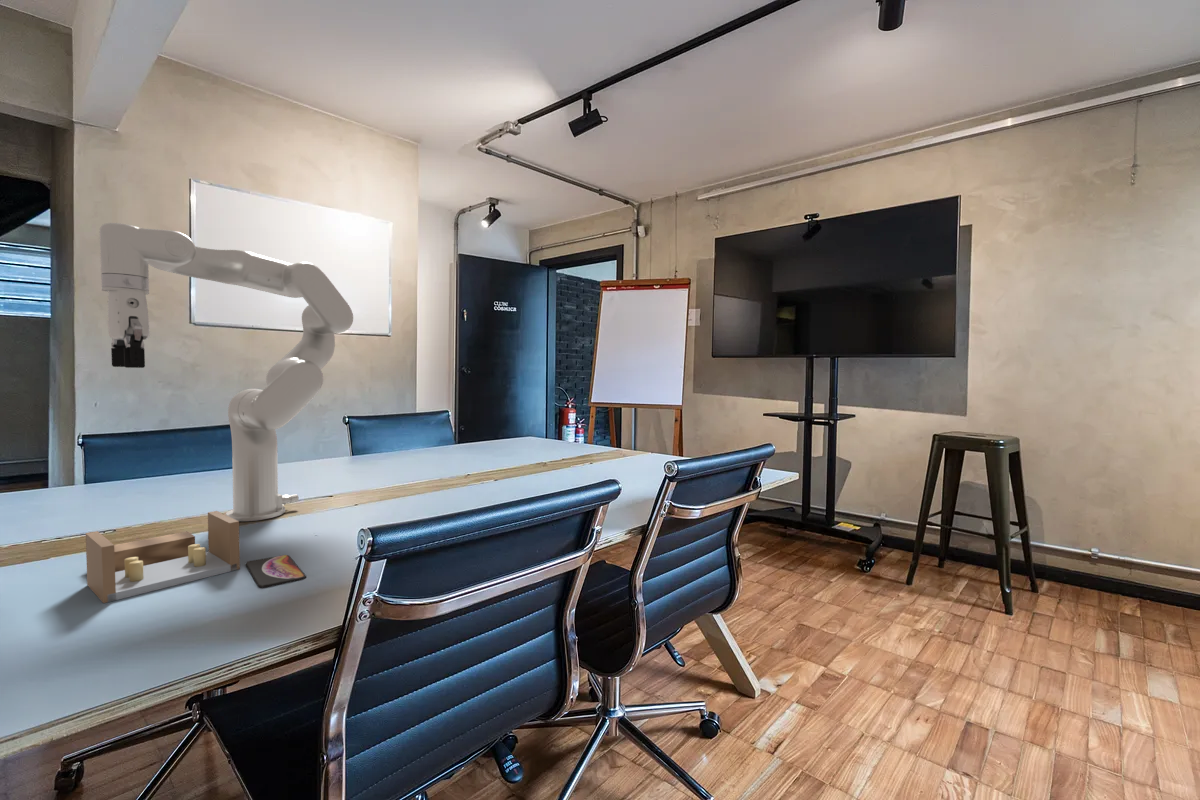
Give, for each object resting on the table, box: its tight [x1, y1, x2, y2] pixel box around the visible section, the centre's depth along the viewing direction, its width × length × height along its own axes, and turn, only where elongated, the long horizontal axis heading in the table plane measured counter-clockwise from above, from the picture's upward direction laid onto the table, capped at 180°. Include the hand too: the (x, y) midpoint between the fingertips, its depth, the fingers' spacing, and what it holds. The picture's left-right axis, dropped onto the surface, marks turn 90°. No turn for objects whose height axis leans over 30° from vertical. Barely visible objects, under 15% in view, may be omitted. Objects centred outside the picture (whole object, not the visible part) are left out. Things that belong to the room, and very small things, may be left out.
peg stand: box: [85, 510, 241, 604], centre depth 96 cm, size 19×11×9 cm, turn 143°
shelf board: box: [114, 531, 196, 572], centre depth 103 cm, size 14×5×4 cm, turn 142°
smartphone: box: [245, 554, 307, 589], centre depth 100 cm, size 8×1×15 cm
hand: (128, 367), depth 114 cm, fingers open, 9 cm apart
